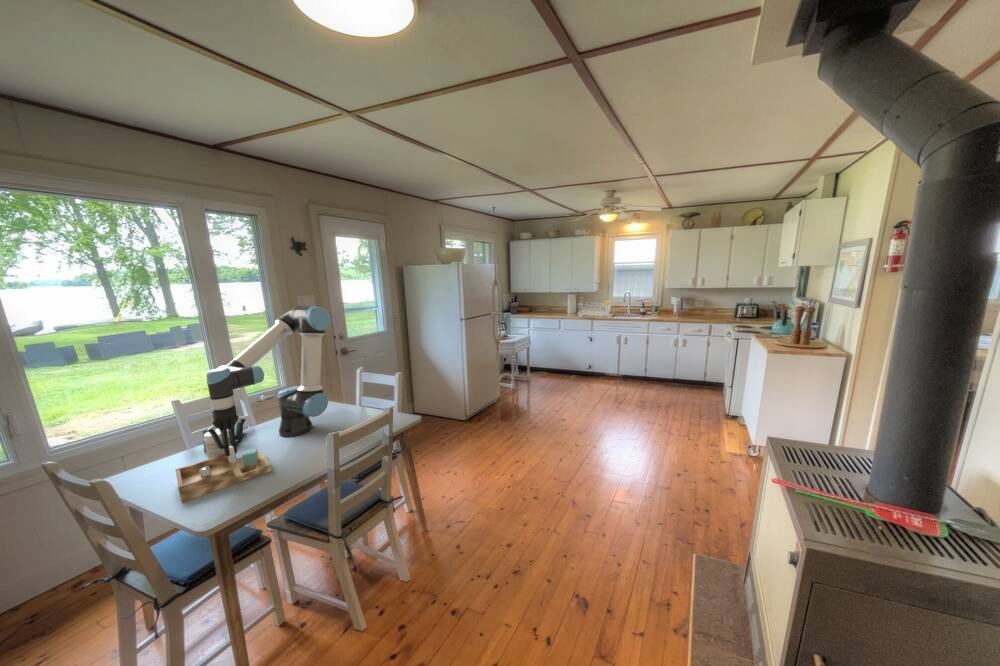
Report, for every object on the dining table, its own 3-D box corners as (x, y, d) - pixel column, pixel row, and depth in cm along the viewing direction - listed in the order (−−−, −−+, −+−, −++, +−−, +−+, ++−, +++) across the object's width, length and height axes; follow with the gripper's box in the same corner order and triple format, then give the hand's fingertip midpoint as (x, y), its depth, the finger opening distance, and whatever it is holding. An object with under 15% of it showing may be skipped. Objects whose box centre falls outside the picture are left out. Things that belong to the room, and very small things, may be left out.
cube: (258, 458, 153) (256, 448, 152) (256, 462, 149) (255, 452, 148) (245, 460, 151) (244, 450, 150) (243, 465, 147) (242, 455, 146)
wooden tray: (261, 456, 160) (259, 443, 159) (271, 470, 147) (269, 457, 146) (178, 483, 140) (175, 469, 139) (181, 502, 128) (178, 487, 127)
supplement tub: (235, 464, 153) (230, 432, 151) (207, 472, 148) (201, 438, 146) (237, 455, 161) (232, 425, 159) (210, 462, 156) (204, 430, 154)
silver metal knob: (212, 479, 137) (209, 465, 136) (213, 482, 135) (210, 468, 134) (202, 483, 135) (199, 468, 134) (203, 486, 133) (200, 471, 132)
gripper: (237, 400, 151) (245, 452, 154) (199, 410, 140) (209, 466, 143) (246, 403, 147) (254, 456, 150) (208, 414, 136) (217, 471, 139)
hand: (232, 461), depth 147 cm, fingers closed
